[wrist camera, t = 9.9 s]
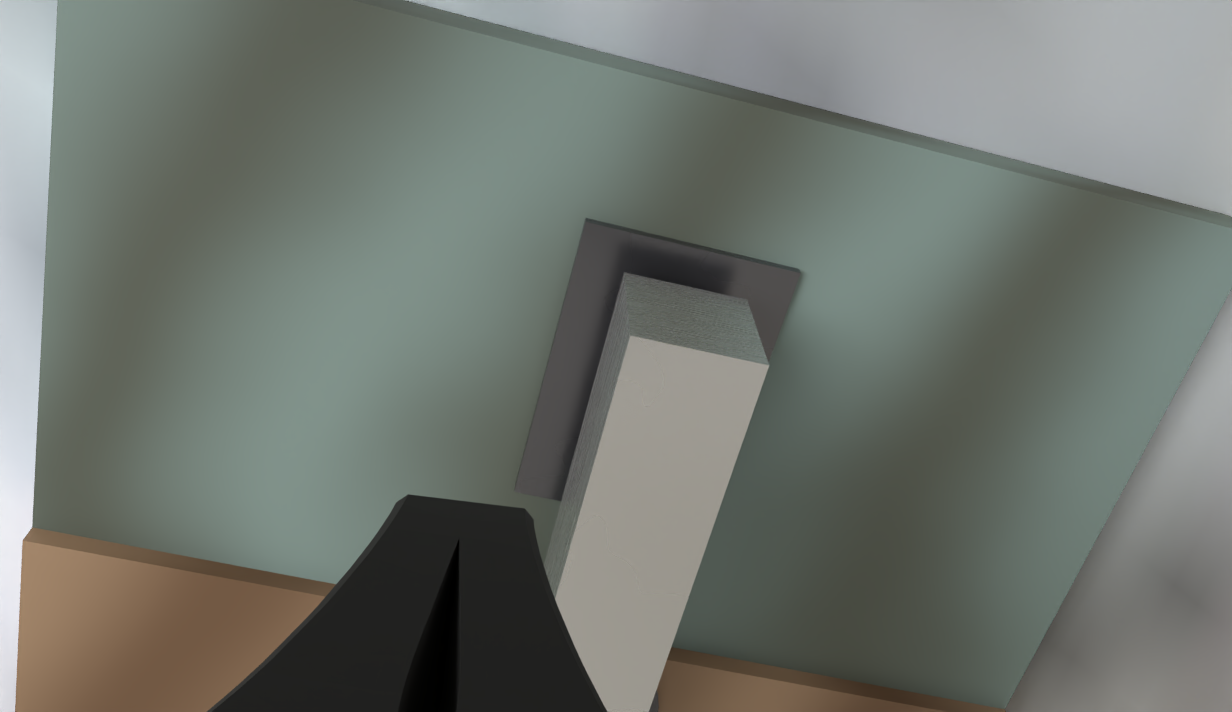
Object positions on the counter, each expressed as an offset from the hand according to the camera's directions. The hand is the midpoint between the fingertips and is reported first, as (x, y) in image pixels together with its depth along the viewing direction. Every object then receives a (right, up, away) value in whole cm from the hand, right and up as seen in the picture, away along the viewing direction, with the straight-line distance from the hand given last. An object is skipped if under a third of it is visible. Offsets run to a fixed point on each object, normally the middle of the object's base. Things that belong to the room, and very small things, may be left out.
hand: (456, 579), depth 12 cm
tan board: (+1, -3, +11) cm, 11 cm away
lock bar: (+1, -1, +8) cm, 8 cm away
